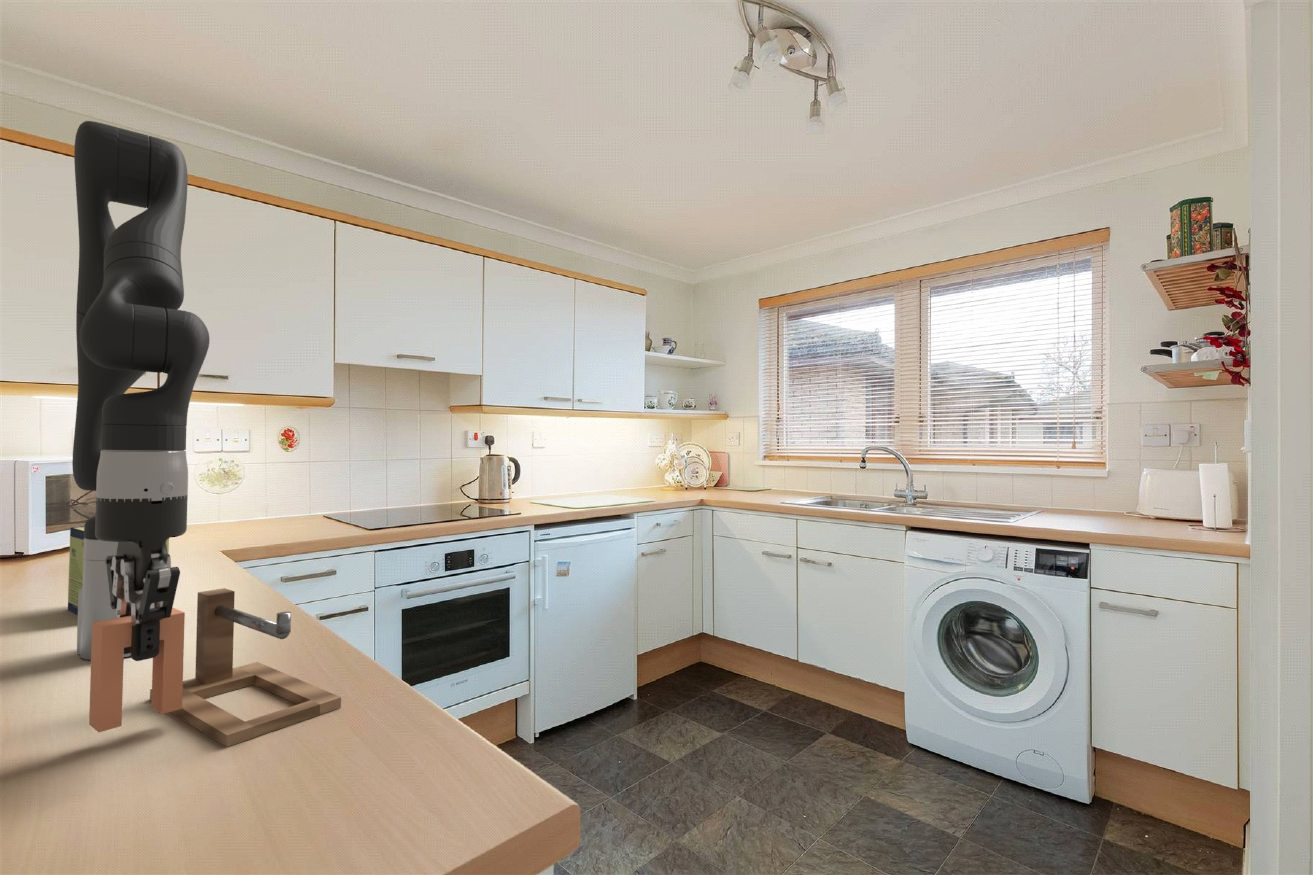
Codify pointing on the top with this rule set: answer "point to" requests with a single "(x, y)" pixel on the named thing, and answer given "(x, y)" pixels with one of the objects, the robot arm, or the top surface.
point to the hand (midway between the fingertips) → (138, 654)
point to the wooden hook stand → (239, 682)
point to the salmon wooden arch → (109, 669)
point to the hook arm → (258, 621)
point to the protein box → (78, 566)
